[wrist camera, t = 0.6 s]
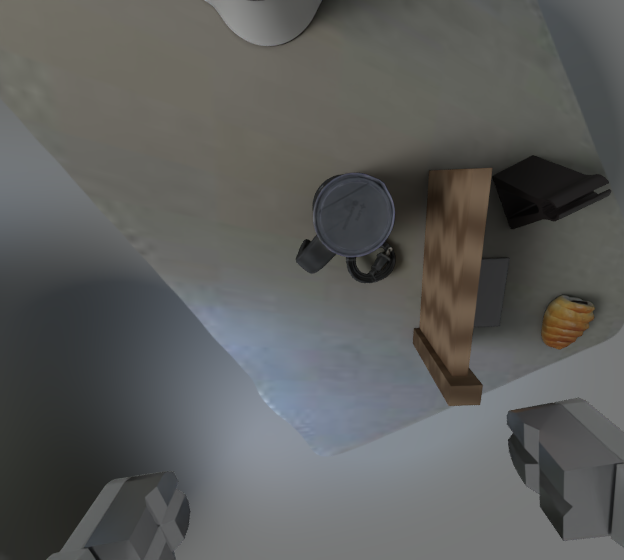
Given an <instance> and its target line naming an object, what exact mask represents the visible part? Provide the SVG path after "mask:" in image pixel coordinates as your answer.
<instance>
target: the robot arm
mask: <svg viewBox="0 0 624 560" xmlns="http://www.w3.org/2000/svg"><path fill="white" fill-rule="evenodd" d="M205 1H206V2H208V3H209V4H211V5H212V6H213V7H214V8H215V9H216V10H217V11H218V13H219V14H220V16H221V17H222V19H223V20H224V22H225V23H226V24H227V25H228V27H229V28H230V29H231V30H232V31H233V32H234V33H236V34H237V35H238V36H240V37H241V38H243V39H244V40H246V41H248V42H251V43H253V44H257V45H262V46H275V45H280V44H283V43H286V42H288V41H290V40H292V39H294V38H295V37H297V36H298V35H299V34H300V33H301V32H302V31H304V29H305V28H306V27H307V26H308V25H309V23H310V22H311V20H312V19H313V17H314V15H315V13H316V11H317V9H318V7H319V5H320V3H321V1H322V0H205ZM507 425H508V426H509V428H510V429H511V431H512V432H513V434H512V435H511V436H510V438H509V439H508V446H509V453H510V456H511V459H512V462H513V465H514V467H515V469H516V470H517V473H518V474H519V476H520V478H521V479H522V481H523V482H524V484H525V485H526V486H527V487H528V488H530V489H532V490H533V491H535V492H536V493H538V494H540V507H541V509H542V510H543V512H544V513H545V515H546V516H547V518H548V519H549V521H550V522H551V523H552V525H553V526H554V528H555V529H556V531H557V532H558V534H559V535H560V537H561V538H562V540H563V541H567V540H577V539H585V538H595V537H604V536H611V539H612V540H614V541H615V542H616V543H618V544H619V545H621V546H622V547H623V548H624V432H623V431H622V430H621V429H620V428H618V427H617V426H616V425H615V424H614V423H612V422H611V421H610V420H609V419H608V418H606V417H605V416H604V415H603V414H601V413H600V412H599V411H598V410H597V409H595V408H594V407H593V406H592V405H590V404H589V403H588V402H587V401H586V400H583V399H581V398H575V399H569V400H564V401H559V402H555V403H548V404H543V405H537V406H532V407H527V408H521V409H516V410H511V411H508V414H507ZM178 482H179V481H178V479H177V477H176V475H175V473H174V472H172V471H166V472H159V473H152V474H145V475H139V476H132V477H128V478H121V479H114V480H112V481H111V482H109V483H108V484H106V486H105V487H104V489H103V490H102V491H101V493H100V494H99V496H98V497H97V499H96V500H95V502H94V503H93V504H92V506H91V508H90V509H89V510H88V512H87V513H86V515H85V516H84V518H83V519H82V520H81V522H80V524H79V525H78V526H77V528H76V529H75V531H74V532H73V534H72V535H71V537H70V538H69V539H68V541H67V542H66V544H65V545H64V547H63V548H62V550H61V551H60V553H55V554H52V555H51V556H50V557H49V558H48V559H46V560H176V557H175V553H174V550H175V549H176V548H177V547H178V546H179V545H180V544H181V543H182V541H183V540H184V539H185V535H186V533H187V530H188V527H189V519H190V506H189V501H188V499H187V497H186V495H185V494H184V493H182V492H181V491H179V490H177V489H176V488H177V485H178Z"/></svg>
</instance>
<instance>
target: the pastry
mask: <svg viewBox="0 0 624 560" xmlns="http://www.w3.org/2000/svg"><path fill="white" fill-rule="evenodd" d="M594 309H595V308H594V305H593V304H592V303H591V302H590V301H583V300H581V299H580V298H570V297H568V296H565V295H561V296H559V297H558V298H556V299H555V300H553V301H552V302H551V303H550V304H549V305H548V308H547V310H546V311H545V314H544V319H543V324H542V331H541V336H542V339H543V341H544V343H545V344H546V345H548V346H550V347H554V348H556V349H562V348H564V347H567V346H568V345H570V344H571V343H572V342H575V341H576V339H577V337H579V336H582V335H583V331H585V330H586V329H588V328H589V322H590V321H592V320H593V319H594V314H593V310H594Z"/></svg>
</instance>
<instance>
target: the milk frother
mask: <svg viewBox="0 0 624 560" xmlns="http://www.w3.org/2000/svg"><path fill="white" fill-rule="evenodd" d="M394 220H395V207H394V203H393V200H392V197H391V195H390V193H389V191H388V190H387V187H386V185H385V183H383V182H382V181H381V180H380V179H377V178H374V177H372V176H369V175H366V174H363V173H348V174H344V175H337V176H333V177H331V178H329V179H327V180H326V181H325V182H324V183H322V185H321V186H320V187H319V188H318V190H317V191H316V193H315V196H314V199H313V223H314V228H315V231H316V233H317V235H316V236H315V237H314V238H313V240H312V241H310V240H308V239H306V240H304V241H303V243H302V245H301V247H300V249H299V252H298V255H297V257H296V262H297V263H298V264H299V265H300V266H301V267H302V268H303V269H304V270H306V271H307V272H309V273H312V274H313V273H316V272H317V271H319V270H320V269H322V268H323V267H324V266H325V265H326V264H327V263H328V262H329V261H330V260H331V259H332V258H333V257H334V256H335V255H336V254H338V255H341V256H345V257H346V263H347V268H348V271H349V273H350V275H351V276H352V277H353V278H354V279H355V280H356V281H359V282H361V283H373V282H377V281H380V280H382V279H384V278H386V277H387V276H388V275H389V274H390V273H391V272H392V270H393V268H394V266H395V262H396V259H395V253H394V251H393V249H392V247H391V246H390V245H389V244H388V243H386V242H385V241H386V239H387V238H388V236H389V234H390V233H391V230H392V228H393V225H394ZM379 247H382V248H383V249H385V253H384V254H383V253H380V254H377V259H376V261H375V263H374V265H372V269H371V271H370V272H369V273H368V274H364V273H362V272H360V271H359V270H358V268H357V266H356V257H359V256H364V255H367V254H369V253H371V252H373V251H375V250H376V249H378V248H379ZM386 262H387V265H386V267H385V268H384V269H383V270H382V271H381V268H382V267H383V266H384V265H385V264H386ZM378 271H379V272H378Z"/></svg>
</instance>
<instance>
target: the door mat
mask: <svg viewBox="0 0 624 560" xmlns="http://www.w3.org/2000/svg"><path fill="white" fill-rule="evenodd" d="M508 265H509V258H492V259H481V268H480V276H479V284H478V293H477V301H476V310H475V318H474V326H473V327H489V326H500V319H501V312H502V306H503V299H504V292H505V285H506V279H507V272H508Z"/></svg>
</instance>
